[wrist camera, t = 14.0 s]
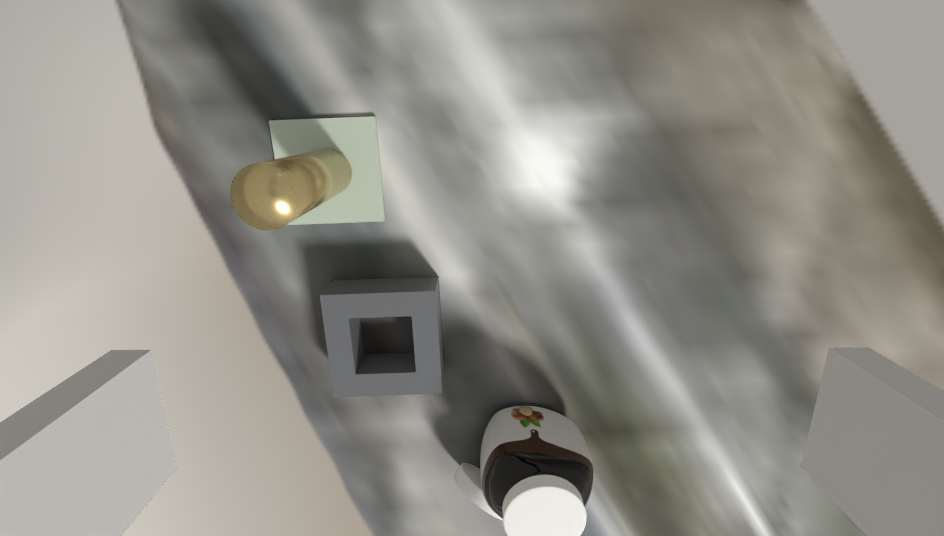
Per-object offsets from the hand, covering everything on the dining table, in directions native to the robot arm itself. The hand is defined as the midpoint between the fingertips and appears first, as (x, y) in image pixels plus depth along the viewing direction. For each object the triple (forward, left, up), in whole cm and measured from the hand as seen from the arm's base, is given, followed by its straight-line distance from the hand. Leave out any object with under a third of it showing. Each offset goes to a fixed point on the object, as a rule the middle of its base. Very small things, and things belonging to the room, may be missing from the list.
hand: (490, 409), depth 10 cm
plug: (-1, -13, -35) cm, 37 cm away
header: (+14, -9, -35) cm, 38 cm away
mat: (-1, -13, -35) cm, 37 cm away
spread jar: (+28, +3, -35) cm, 45 cm away
